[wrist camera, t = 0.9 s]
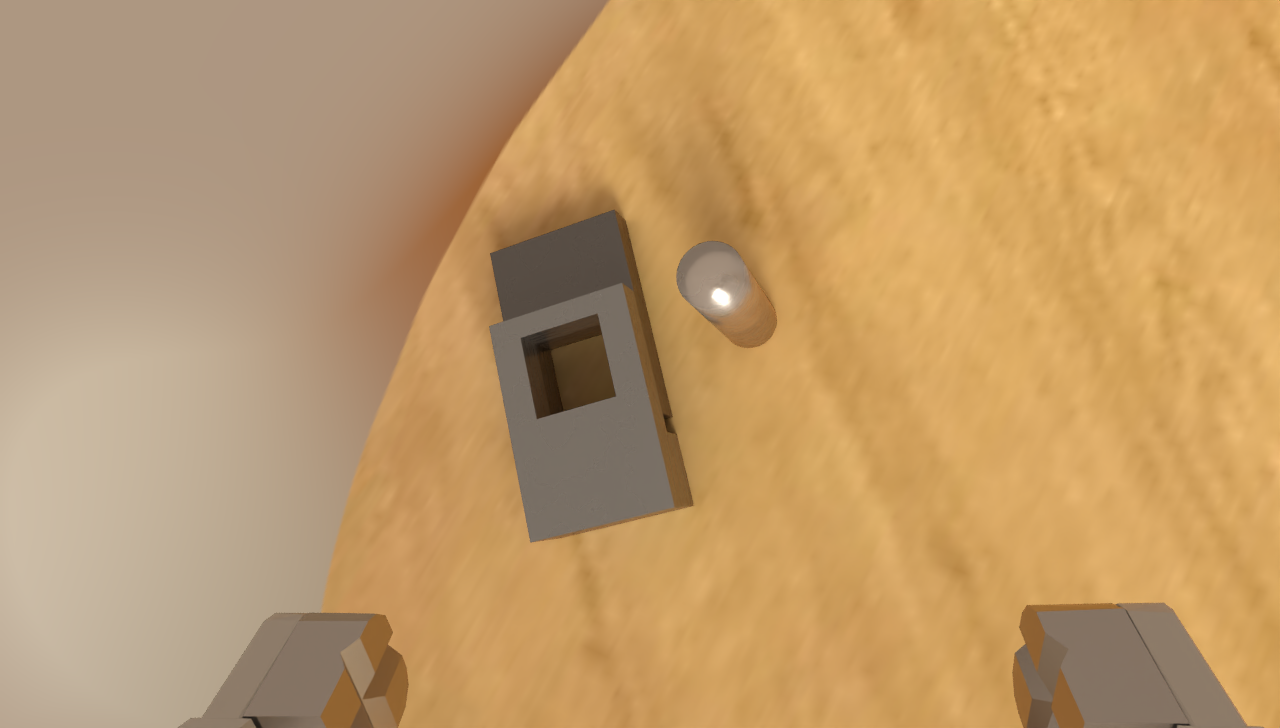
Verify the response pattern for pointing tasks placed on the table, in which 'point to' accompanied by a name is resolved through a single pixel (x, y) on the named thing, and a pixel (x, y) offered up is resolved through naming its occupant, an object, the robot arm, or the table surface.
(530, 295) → the grey socket block
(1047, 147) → the table surface
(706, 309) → the steel pin
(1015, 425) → the table surface
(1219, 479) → the table surface
